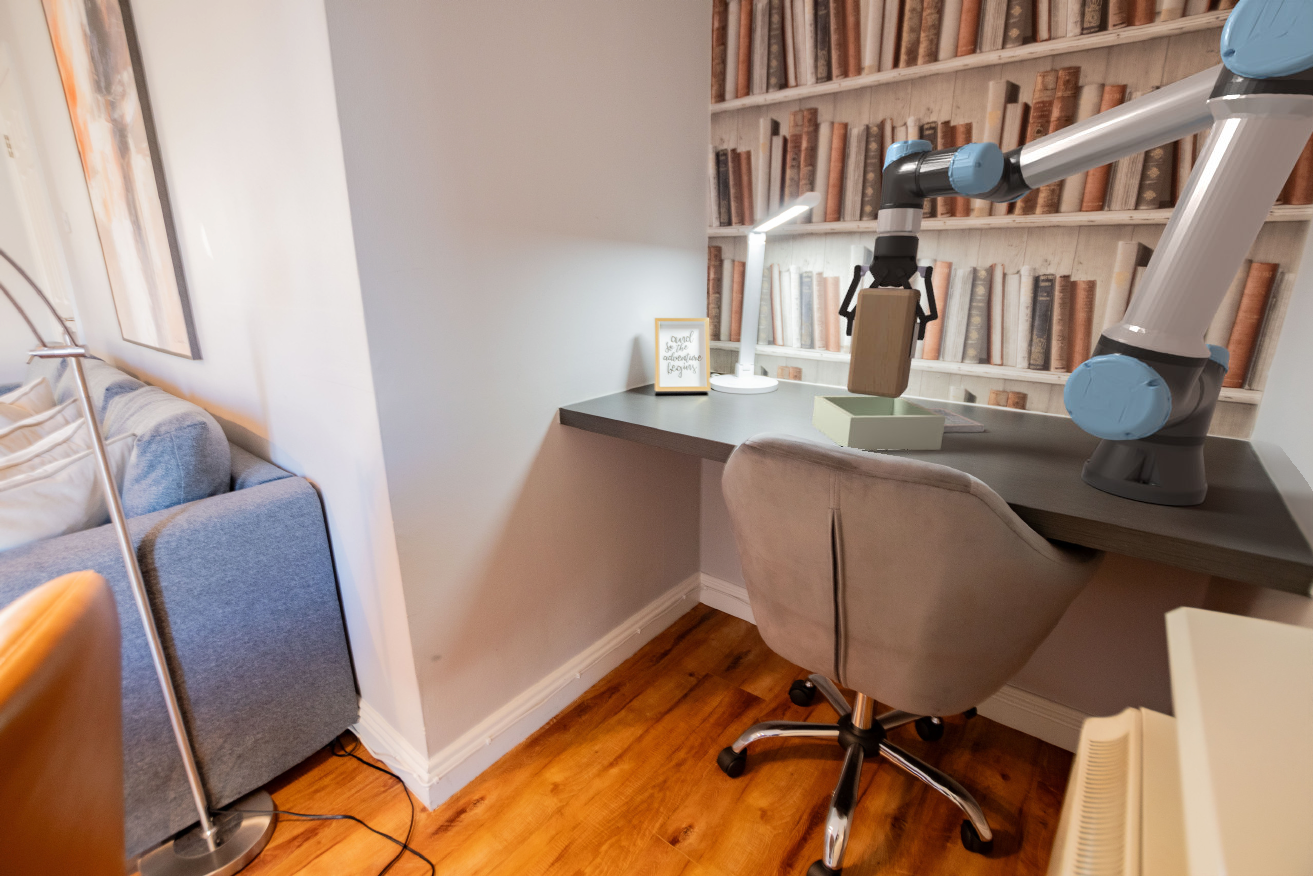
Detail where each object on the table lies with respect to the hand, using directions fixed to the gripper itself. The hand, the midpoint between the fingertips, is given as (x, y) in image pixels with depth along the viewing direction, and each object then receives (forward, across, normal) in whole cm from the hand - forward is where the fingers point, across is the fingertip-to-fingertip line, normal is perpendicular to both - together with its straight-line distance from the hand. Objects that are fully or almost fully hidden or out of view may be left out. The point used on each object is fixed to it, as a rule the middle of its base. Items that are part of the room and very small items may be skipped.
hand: (881, 355), depth 112 cm
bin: (+17, 0, 0) cm, 17 cm away
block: (+8, 0, 0) cm, 8 cm away
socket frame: (+17, -11, -18) cm, 26 cm away
